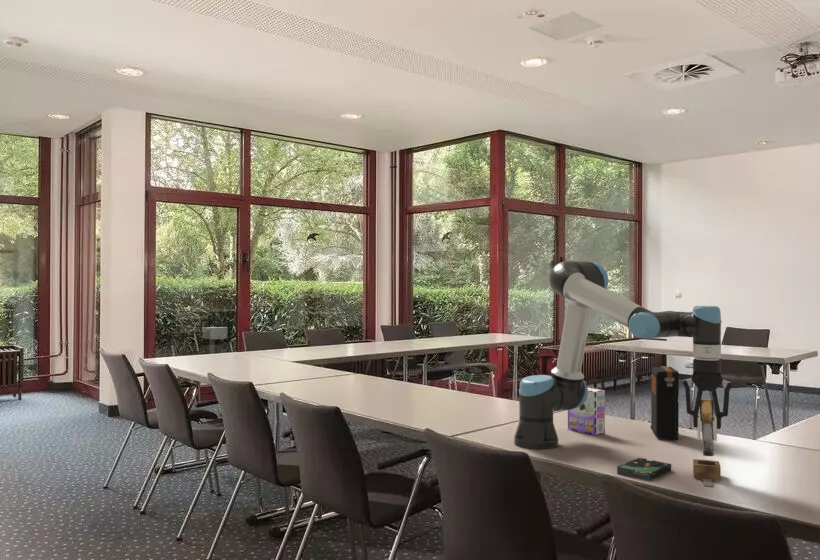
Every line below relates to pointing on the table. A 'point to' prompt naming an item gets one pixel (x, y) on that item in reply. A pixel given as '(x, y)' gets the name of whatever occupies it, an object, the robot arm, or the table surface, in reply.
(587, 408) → the candy box
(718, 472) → the socket
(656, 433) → the black orange case
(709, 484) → the joist stripe
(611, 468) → the table surface
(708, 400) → the tan and gray bar
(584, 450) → the table surface
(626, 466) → the disk drive
